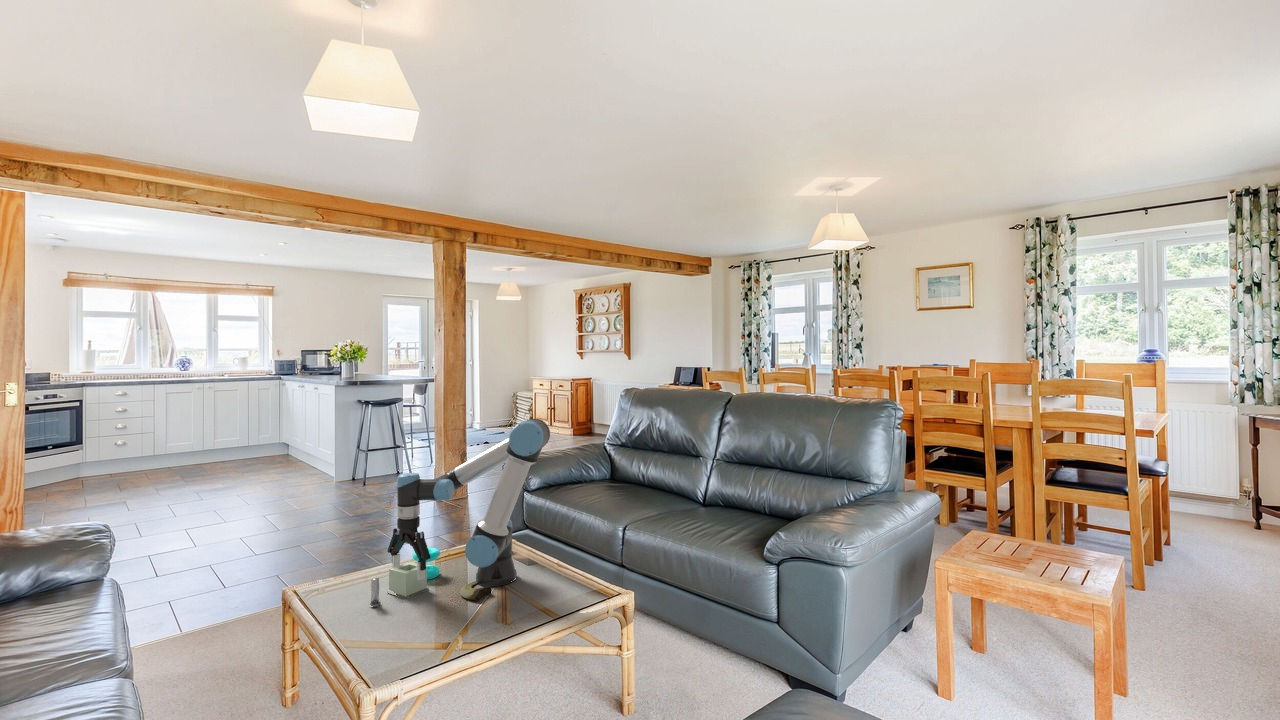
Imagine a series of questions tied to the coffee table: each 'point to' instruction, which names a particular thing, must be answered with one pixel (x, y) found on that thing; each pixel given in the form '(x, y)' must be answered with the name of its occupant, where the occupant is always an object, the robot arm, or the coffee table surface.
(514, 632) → the coffee table surface
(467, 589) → the claw
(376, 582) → the post stand
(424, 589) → the mat
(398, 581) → the sage cube with slot
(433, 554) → the donuts
